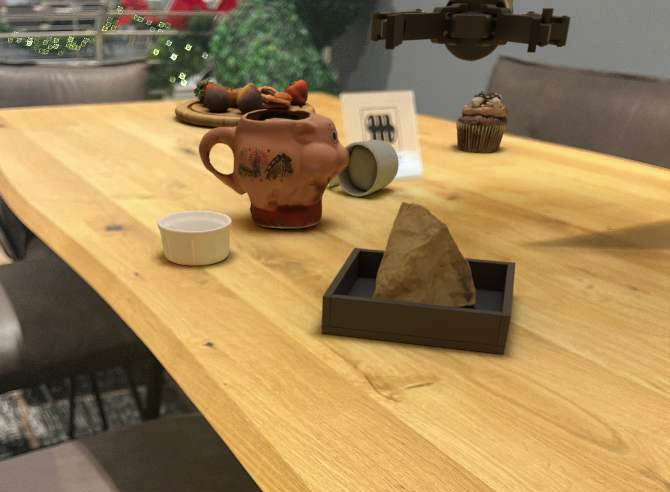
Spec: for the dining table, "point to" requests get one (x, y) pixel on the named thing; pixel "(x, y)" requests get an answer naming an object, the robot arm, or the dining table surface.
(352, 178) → the ceramic mug
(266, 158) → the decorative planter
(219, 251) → the ramekin
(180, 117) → the wooden plate
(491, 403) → the dining table surface
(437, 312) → the tray
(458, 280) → the rock
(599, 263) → the dining table surface
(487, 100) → the cupcake
